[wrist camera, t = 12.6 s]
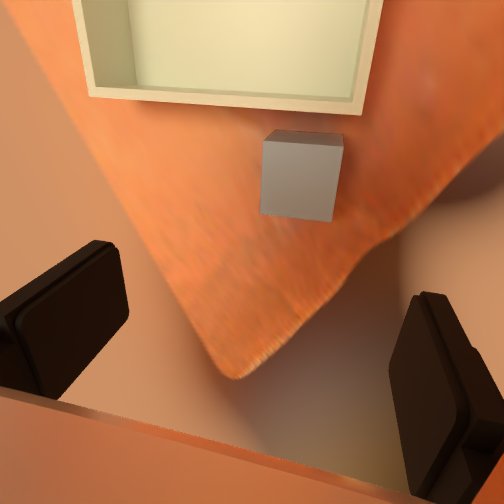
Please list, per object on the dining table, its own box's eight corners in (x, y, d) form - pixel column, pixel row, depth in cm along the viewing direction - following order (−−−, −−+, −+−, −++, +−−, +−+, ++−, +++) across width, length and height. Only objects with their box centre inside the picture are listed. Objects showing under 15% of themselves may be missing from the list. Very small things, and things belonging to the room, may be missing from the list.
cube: (342, 134, 24) (343, 146, 20) (332, 198, 26) (331, 222, 22) (275, 129, 25) (263, 140, 21) (271, 192, 27) (259, 214, 23)
